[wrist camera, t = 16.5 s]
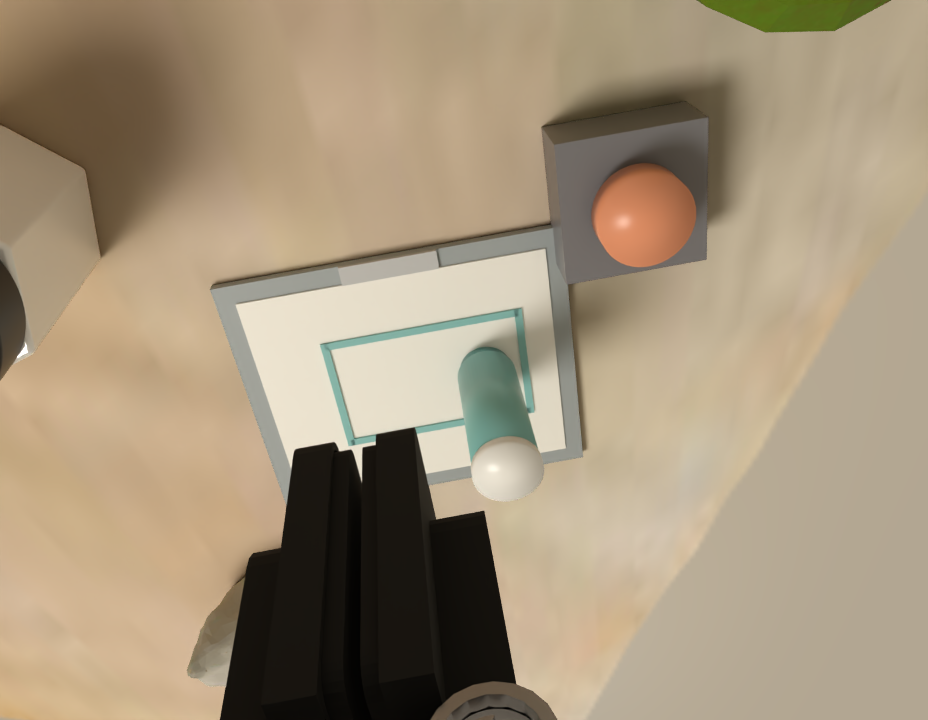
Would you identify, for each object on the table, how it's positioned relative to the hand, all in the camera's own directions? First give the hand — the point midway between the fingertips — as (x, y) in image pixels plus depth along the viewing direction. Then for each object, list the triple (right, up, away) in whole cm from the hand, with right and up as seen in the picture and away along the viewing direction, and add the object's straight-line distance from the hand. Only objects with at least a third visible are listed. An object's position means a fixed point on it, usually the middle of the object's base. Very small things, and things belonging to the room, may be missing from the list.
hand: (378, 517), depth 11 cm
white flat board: (-2, +1, +33) cm, 33 cm away
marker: (+2, +2, +33) cm, 33 cm away
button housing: (+9, +11, +29) cm, 32 cm away
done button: (+9, +11, +28) cm, 31 cm away
